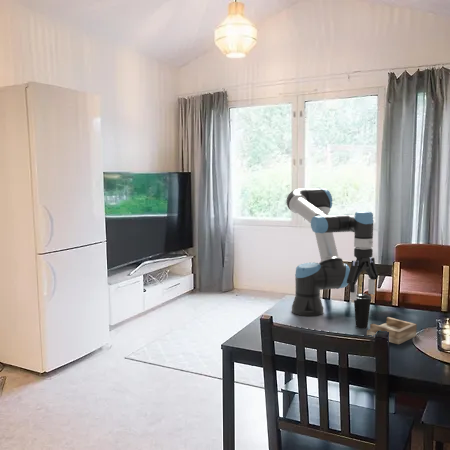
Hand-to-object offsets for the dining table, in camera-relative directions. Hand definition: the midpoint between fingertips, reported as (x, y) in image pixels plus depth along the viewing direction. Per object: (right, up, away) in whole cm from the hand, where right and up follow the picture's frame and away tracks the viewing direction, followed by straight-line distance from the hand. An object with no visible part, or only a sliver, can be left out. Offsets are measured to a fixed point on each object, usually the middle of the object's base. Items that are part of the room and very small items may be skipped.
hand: (362, 296), depth 195 cm
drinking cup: (0, -14, +2) cm, 14 cm away
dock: (+9, -15, -9) cm, 19 cm away
